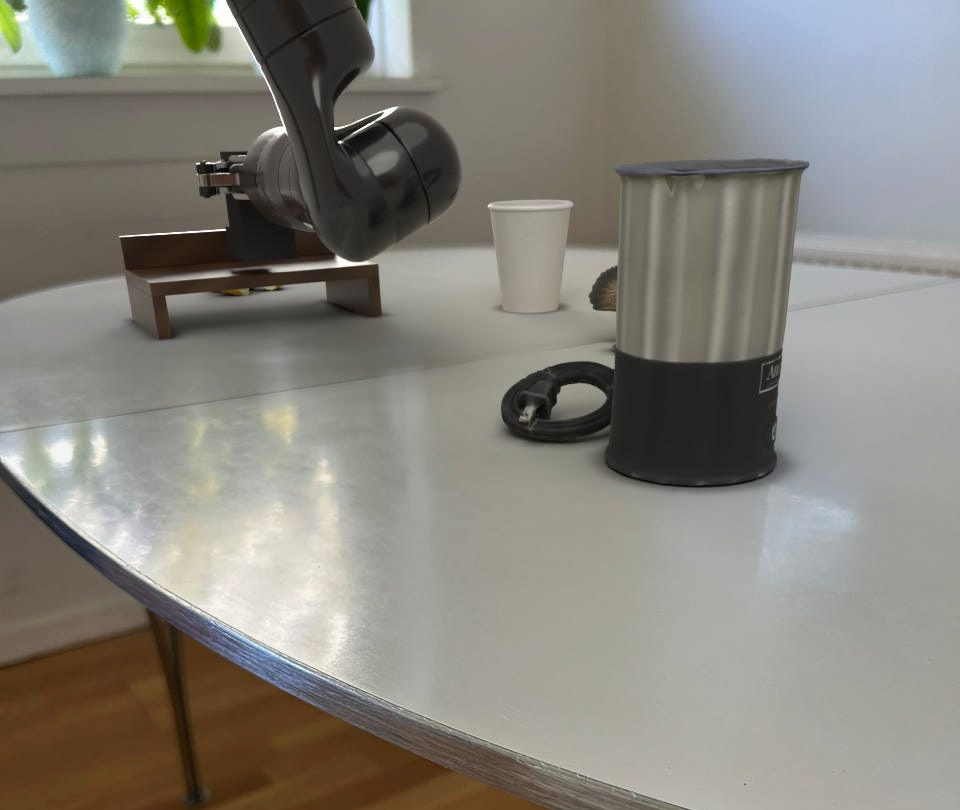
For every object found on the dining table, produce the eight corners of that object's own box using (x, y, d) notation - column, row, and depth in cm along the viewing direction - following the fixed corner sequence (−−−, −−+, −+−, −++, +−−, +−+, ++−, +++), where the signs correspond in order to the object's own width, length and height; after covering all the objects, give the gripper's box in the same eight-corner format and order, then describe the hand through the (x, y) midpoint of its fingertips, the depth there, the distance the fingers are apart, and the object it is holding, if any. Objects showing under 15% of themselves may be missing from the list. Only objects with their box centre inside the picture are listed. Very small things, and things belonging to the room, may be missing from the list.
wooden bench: (159, 340, 91) (143, 247, 87) (133, 320, 101) (118, 236, 98) (382, 316, 100) (376, 230, 96) (337, 300, 110) (330, 222, 106)
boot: (297, 258, 92) (286, 149, 88) (246, 262, 90) (233, 151, 86) (270, 250, 99) (259, 149, 95) (222, 253, 97) (209, 151, 93)
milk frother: (784, 494, 49) (824, 162, 43) (471, 483, 52) (462, 169, 45) (762, 419, 62) (791, 154, 55) (511, 414, 64) (509, 159, 58)
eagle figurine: (597, 319, 89) (565, 315, 81) (647, 248, 85) (619, 237, 77) (663, 372, 88) (637, 374, 80) (716, 302, 84) (695, 296, 76)
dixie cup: (574, 314, 98) (576, 204, 93) (489, 316, 98) (487, 206, 94) (568, 301, 105) (570, 198, 101) (490, 303, 106) (488, 200, 101)
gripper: (386, 123, 79) (317, 127, 93) (206, 127, 74) (161, 130, 87) (392, 225, 83) (324, 214, 96) (221, 236, 77) (175, 223, 91)
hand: (247, 174), depth 92 cm, fingers closed on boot, 4 cm apart
